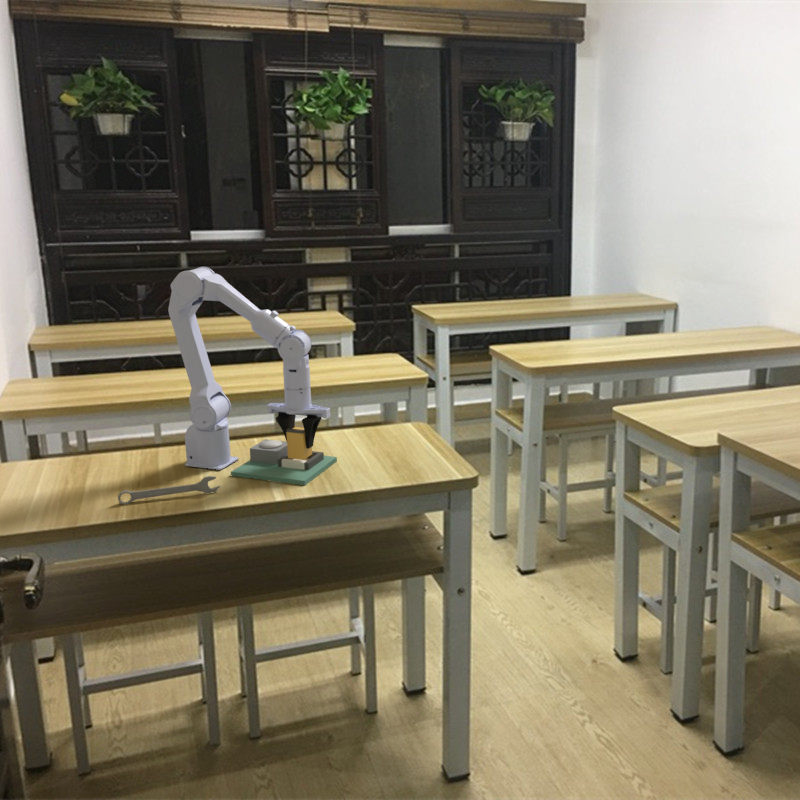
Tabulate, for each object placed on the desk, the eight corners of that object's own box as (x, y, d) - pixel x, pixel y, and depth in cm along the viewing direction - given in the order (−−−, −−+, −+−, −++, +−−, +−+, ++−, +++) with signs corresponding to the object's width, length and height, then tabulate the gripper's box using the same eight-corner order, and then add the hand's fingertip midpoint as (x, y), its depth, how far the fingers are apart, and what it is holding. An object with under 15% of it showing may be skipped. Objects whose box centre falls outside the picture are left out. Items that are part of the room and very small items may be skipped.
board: (231, 476, 173) (229, 456, 172) (267, 453, 187) (266, 435, 186) (305, 485, 167) (304, 465, 166) (336, 461, 181) (336, 442, 180)
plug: (287, 457, 176) (286, 429, 174) (296, 452, 179) (294, 424, 178) (304, 459, 174) (302, 431, 173) (312, 454, 178) (310, 425, 176)
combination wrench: (116, 490, 157) (219, 476, 162) (116, 488, 158) (218, 474, 164) (119, 508, 158) (221, 493, 164) (119, 505, 159) (220, 491, 165)
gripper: (258, 389, 172) (262, 448, 176) (319, 393, 167) (322, 454, 171) (274, 381, 178) (278, 439, 182) (333, 386, 173) (335, 445, 177)
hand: (300, 446), depth 177 cm, fingers closed on plug, 4 cm apart
